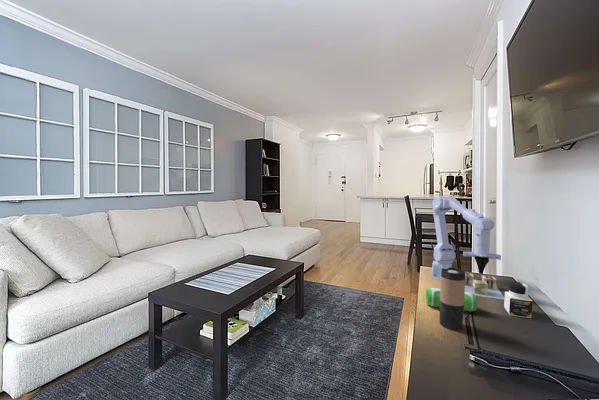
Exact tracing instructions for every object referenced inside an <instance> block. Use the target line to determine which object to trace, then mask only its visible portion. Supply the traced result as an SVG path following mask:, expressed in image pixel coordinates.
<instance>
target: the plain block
mask: <svg viewBox="0 0 599 400" xmlns="http://www.w3.org/2000/svg"><path fill="white" fill-rule="evenodd" d="M487 290H488V284H487V282H486V281H482V279H481V280H480V279H475V278H474V279H473V292H474V293H475V294H482V295H487Z"/></svg>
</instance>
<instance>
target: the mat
mask: <svg viewBox="0 0 599 400" xmlns="http://www.w3.org/2000/svg"><path fill="white" fill-rule="evenodd" d="M465 292H470V293H473V294H475V293H474V292H473V286H465ZM475 295H476V297H481V298H482V297H484V298H491V299H498V300H504V299H505V295H503V294H502V292H501V291H500V290H499V288H498V287H497V286H496V290H490V289H488V290H487V295H482V294H475Z"/></svg>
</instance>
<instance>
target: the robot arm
mask: <svg viewBox="0 0 599 400" xmlns="http://www.w3.org/2000/svg"><path fill="white" fill-rule="evenodd" d="M431 202H432V203H431V204H432V208H433V209H432V212H433V213H432V214H433V220H434V221H433V222H434V228H435V234H436V241H437V242H436V243H437V244H436V245H434V247H433V258H434V260H433V261H432V265H431V267H432V270H431V276H432V279H436V280H437V279H439V280H441V270H442V268H443V269H448V268H453V267H452V265H453V264H452V263H454V261H455V260H456V256H457V255H456V252H455V250H454V247H453V246H452V244H450V242H449V237H448V229H447V223H446V213H447V212H449V211H451V210H452V209H453V210H454V211H456V212H458V213H459V214H461V215H462V219H464V220H465V221H466V222H468V223H469V224H471V225H472V228H473V229H474V234H475V235H474V251H463V252H462V255H463V257H470V258H471V257H472V258H474V260H475V262H476V266H477V270H478V273H479V274H481V275H484V271H485V269H486V266H487V264H488V263H489V262H490V259H494V260H499V261H501V260H502V255H501V254H498V253H497V254H496V253H490V246H491V245H490V244H491V242H490V241H491V230H493V228H495V222H494V221H493V220H492V218H491V217H485V216H484V215H483V214H480V213H479V212H477V210H476V209H474V208H466V207H465V206H464V205H463V204H462V203H461V202H459V201H458V200H457V198H455V197H453V196H435V197H434V198H433V200H432V201H431Z"/></svg>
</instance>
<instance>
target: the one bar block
mask: <svg viewBox="0 0 599 400" xmlns="http://www.w3.org/2000/svg"><path fill="white" fill-rule="evenodd" d="M473 279H474V280H475V276H474V274H473V273H470V272H469V273H468V272H465V286H473Z"/></svg>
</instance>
